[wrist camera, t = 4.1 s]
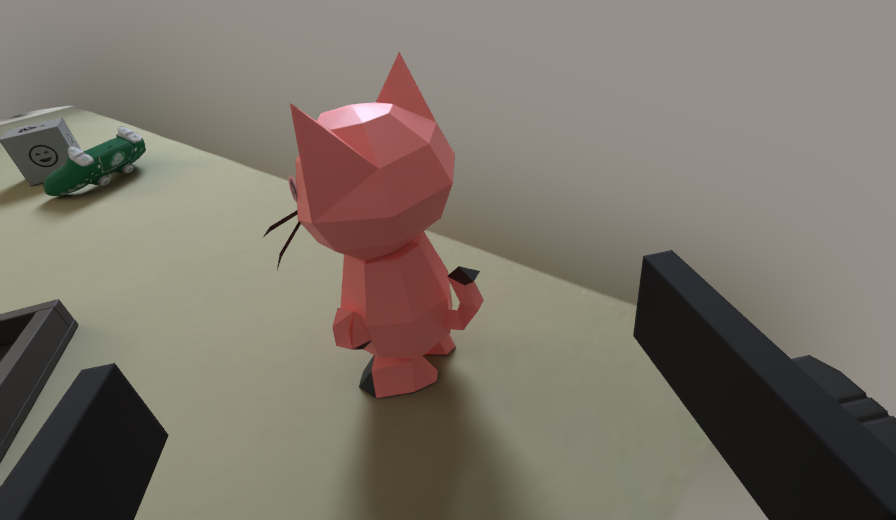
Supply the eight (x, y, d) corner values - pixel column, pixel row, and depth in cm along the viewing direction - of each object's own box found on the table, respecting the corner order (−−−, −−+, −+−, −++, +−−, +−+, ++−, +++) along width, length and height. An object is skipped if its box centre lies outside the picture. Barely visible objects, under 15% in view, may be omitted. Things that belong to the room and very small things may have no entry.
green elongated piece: (74, 216, 45) (81, 176, 41) (37, 190, 44) (42, 147, 40) (148, 176, 52) (159, 139, 48) (117, 153, 51) (127, 114, 48)
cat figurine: (390, 296, 24) (328, 53, 18) (515, 318, 22) (498, 41, 15) (308, 400, 19) (178, 111, 13) (460, 445, 16) (396, 108, 10)
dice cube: (37, 172, 52) (8, 129, 50) (87, 159, 54) (62, 117, 52) (30, 185, 49) (-2, 140, 46) (84, 171, 51) (57, 126, 48)
